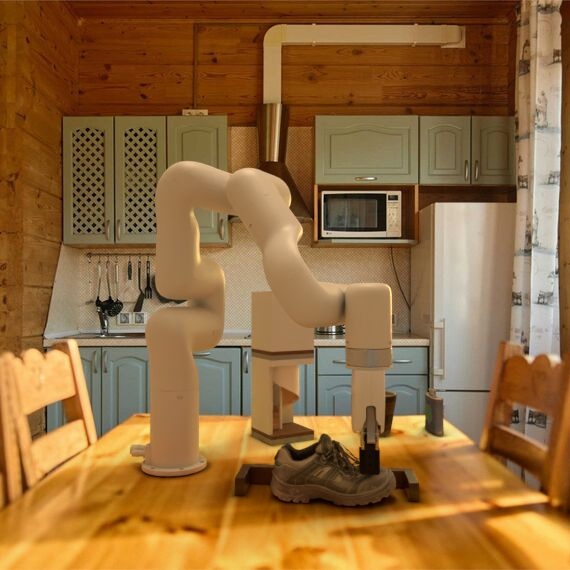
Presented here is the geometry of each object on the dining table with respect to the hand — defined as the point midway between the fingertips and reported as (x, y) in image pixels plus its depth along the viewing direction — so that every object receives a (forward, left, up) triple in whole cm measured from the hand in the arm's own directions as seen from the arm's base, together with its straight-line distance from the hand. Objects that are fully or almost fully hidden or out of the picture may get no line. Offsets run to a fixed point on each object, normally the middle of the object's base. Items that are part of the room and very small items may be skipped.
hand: (369, 472), depth 87 cm
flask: (+19, +50, -5) cm, 54 cm away
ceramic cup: (+4, +46, -5) cm, 46 cm away
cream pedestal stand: (-18, +42, -5) cm, 46 cm away
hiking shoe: (-6, +3, -5) cm, 9 cm away
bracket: (-7, +7, -5) cm, 11 cm away
